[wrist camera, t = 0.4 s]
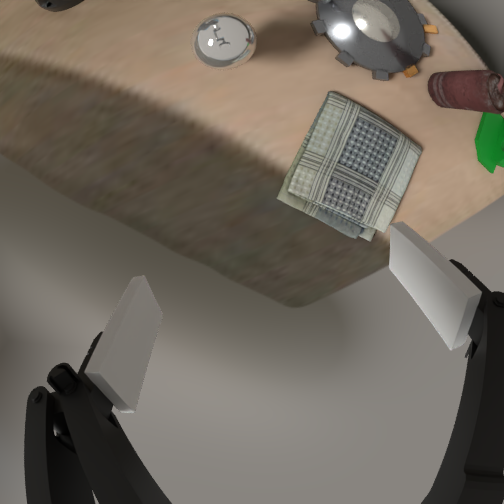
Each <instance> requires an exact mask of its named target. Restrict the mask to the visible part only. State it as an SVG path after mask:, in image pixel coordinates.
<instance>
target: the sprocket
mask: <svg viewBox="0 0 504 504" xmlns="http://www.w3.org/2000/svg"><path fill="white" fill-rule="evenodd" d="M308 1H311V2H314V3H316V14H317V18H318V20H316V21H312V22H311V26H312V28H313V31H314V33H315V35H316V36H317V35H322V34H324V35H325V36H326V38H327V39H328V40H329V42H330V43H331V44H332V45H333V47H334V48H335V49H336V50H337V51H338V52H340V53H339V54H338V55H337V56H336V58H335V59H336V60H338V61H339V62H340V63H342V64H343V65H344V66H346V67H349V66H350V65H351V64H352V62H353V63H355V64H356V65H358V66H360V67H363V68H365V69H368V70H370V71H372V77H373V79H375V80H381V81H388V80H389V79H388V73H395V72H400V71H403V73H404V75H405V76H406V78H408V77H412V76H413V75H415V74H416V73H418V70H417V69H416V67H415V64H416V63H417V61H418V60H419V59H420V57H421V55H423V56H424V57H427V56H429V53H430V48H431V46H429V45H428V44H426V43H425V37H424V30H423V26H424V25H427V22H426V20H425V18H424V16H423V14H417V13H416V11H415V9H414V8H413V7H412V5H411V4H410V3H409V2H408V0H308Z"/></svg>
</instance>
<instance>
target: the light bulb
mask: <svg viewBox="0 0 504 504" xmlns="http://www.w3.org/2000/svg"><path fill="white" fill-rule="evenodd" d="M256 46H257V36H256V32H255V30H254V28H253V26H252V25H251V23H249V22H248V21H247V20H246V19H245V18H243V17H241V16H239V15H236V14H233V13H218V14H214V15H211V16H209V17H207V18H205V19H203V20H202V21H201V22H200V23H199V24H198V25H197V26H196V28H195V29H194V31H193V33H192V36H191V49H192V52H193V54H194V56H195V57H196V59H197V60H198V61H199V62H200V63H202V64H203V65H205V66H207V67H209V68H212V69H216V70H229V69H234V68H237V67H239V66H241V65H243V64H244V63H245V62H247V61H248V60H249V59H250V57H251V56H252V55H253V53H254V51H255V49H256Z"/></svg>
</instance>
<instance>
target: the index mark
mask: <svg viewBox="0 0 504 504" xmlns="http://www.w3.org/2000/svg"><path fill="white" fill-rule="evenodd" d="M423 30H424V32H425V33H431V34H437V33H438V31H437V28H436V26H433V25H428V24H427V25H424V26H423Z"/></svg>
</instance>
